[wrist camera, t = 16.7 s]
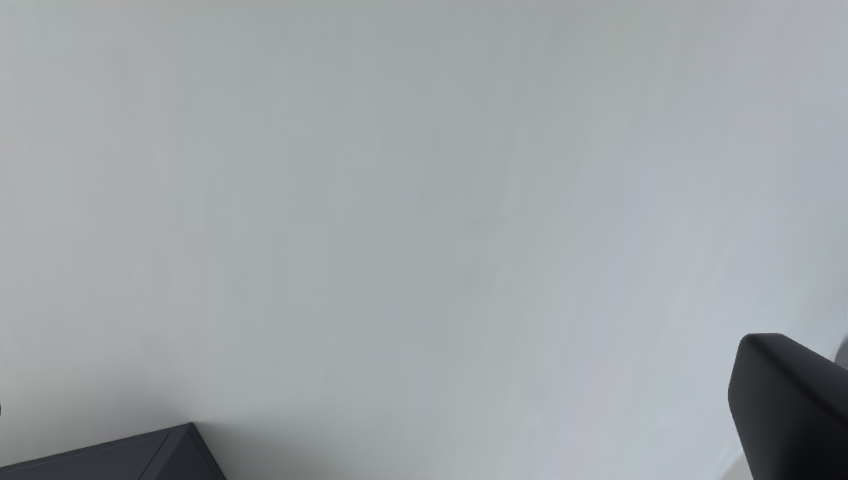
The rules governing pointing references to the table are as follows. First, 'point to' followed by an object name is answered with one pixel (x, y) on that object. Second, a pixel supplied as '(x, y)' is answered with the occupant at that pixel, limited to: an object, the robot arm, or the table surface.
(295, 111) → the table surface
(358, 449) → the table surface
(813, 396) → the robot arm
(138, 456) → the box
